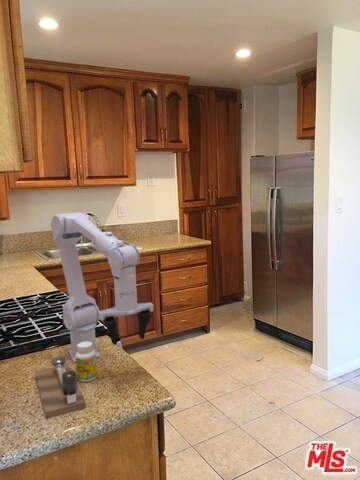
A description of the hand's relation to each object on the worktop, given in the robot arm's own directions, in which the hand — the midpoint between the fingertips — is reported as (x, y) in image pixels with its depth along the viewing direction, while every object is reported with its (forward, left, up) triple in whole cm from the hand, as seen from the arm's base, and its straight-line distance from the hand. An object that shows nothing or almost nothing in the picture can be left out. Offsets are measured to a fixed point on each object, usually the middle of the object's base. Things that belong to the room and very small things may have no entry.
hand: (128, 340), depth 105 cm
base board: (-2, -19, -10) cm, 21 cm away
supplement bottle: (-5, -10, -11) cm, 16 cm away
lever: (-2, -17, -9) cm, 19 cm away
